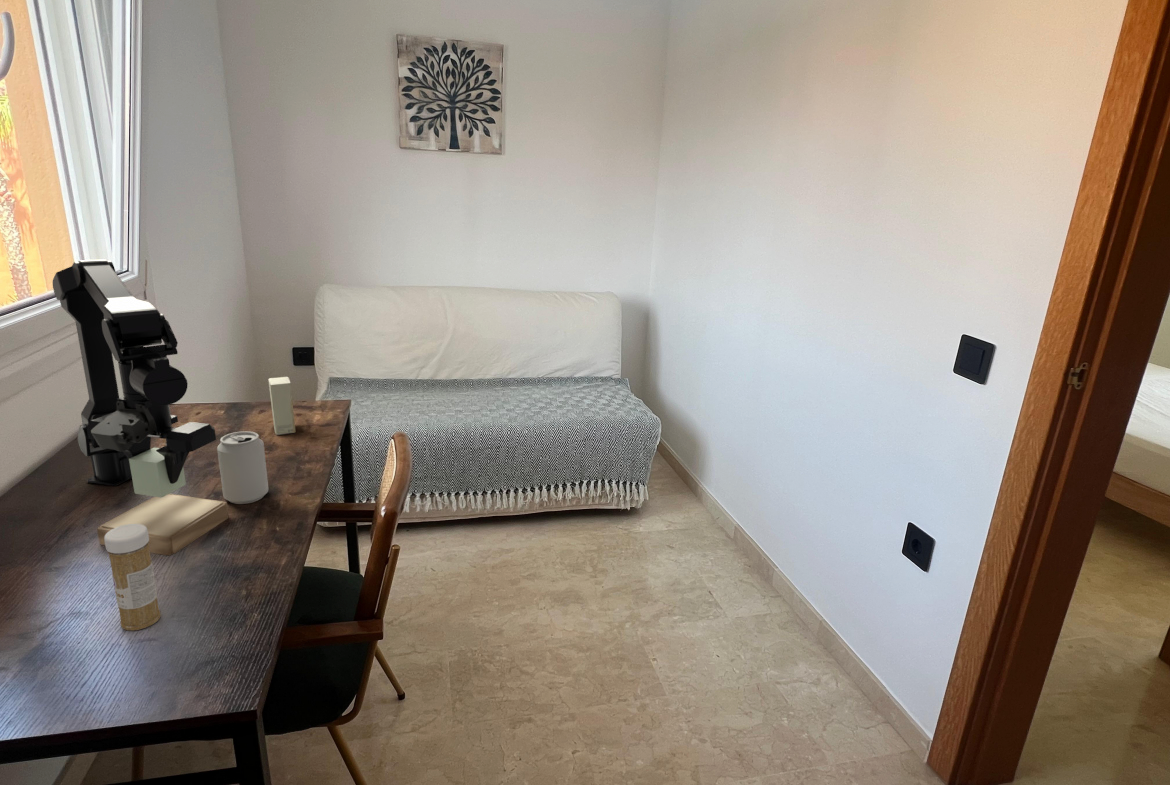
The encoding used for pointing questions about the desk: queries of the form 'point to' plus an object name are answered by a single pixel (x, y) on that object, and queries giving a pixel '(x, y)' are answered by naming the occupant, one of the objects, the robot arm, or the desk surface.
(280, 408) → the skincare box
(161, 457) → the green block
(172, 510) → the base slab
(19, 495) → the desk surface
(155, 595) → the sprinkles bottle
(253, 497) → the can
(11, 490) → the desk surface
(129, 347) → the robot arm
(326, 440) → the desk surface
